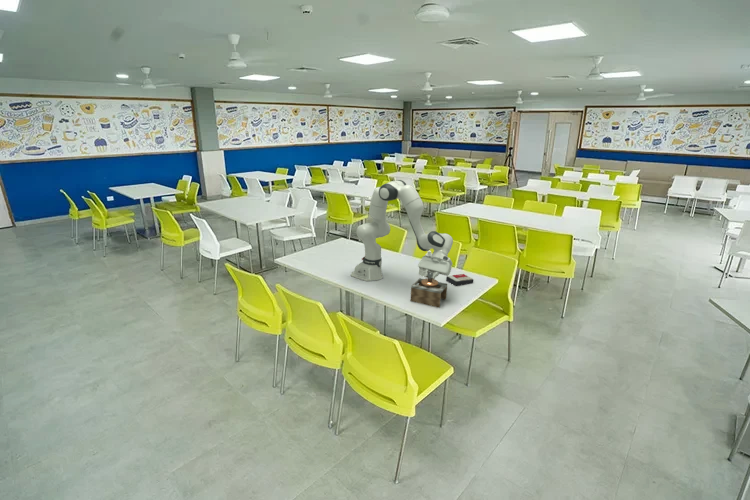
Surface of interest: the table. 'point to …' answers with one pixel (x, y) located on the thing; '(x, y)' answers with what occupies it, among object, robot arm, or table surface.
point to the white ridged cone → (423, 272)
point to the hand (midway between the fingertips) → (429, 277)
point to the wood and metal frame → (428, 293)
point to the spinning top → (429, 281)
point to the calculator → (459, 279)
